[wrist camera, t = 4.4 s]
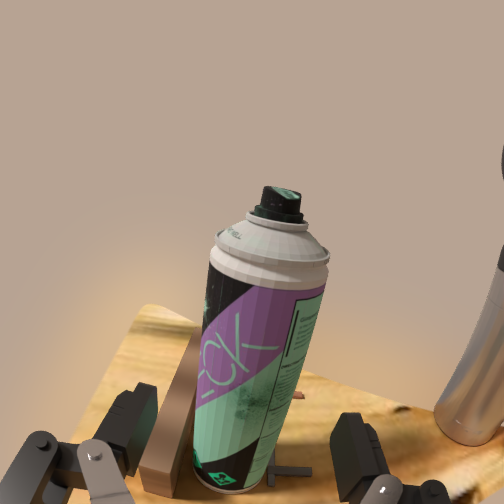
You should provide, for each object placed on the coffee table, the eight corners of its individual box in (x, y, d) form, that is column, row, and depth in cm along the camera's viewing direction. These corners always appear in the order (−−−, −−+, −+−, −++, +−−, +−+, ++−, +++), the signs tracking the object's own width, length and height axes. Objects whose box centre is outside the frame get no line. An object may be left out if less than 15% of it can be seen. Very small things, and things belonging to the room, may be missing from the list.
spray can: (222, 431, 22) (263, 182, 17) (276, 463, 19) (357, 202, 14) (177, 465, 17) (193, 176, 12) (235, 506, 15) (316, 200, 9)
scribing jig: (193, 356, 32) (195, 327, 31) (298, 373, 32) (306, 344, 31) (144, 490, 14) (137, 464, 13) (314, 513, 14) (334, 489, 13)
